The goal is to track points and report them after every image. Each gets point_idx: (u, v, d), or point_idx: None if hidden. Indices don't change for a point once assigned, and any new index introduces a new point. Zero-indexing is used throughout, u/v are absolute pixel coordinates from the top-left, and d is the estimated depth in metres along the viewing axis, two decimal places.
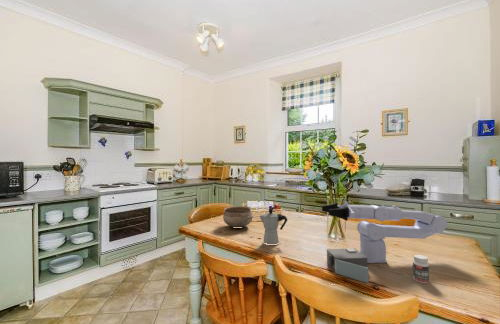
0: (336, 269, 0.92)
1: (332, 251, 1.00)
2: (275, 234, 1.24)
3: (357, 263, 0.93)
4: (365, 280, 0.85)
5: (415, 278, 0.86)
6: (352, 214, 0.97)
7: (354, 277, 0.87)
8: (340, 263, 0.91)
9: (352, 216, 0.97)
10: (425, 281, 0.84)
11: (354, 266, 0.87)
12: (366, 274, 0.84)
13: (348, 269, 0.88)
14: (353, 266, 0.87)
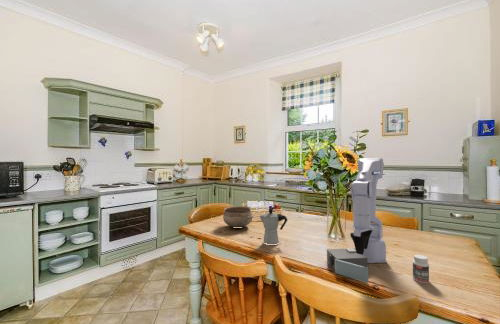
0: (336, 269, 0.92)
1: (332, 251, 1.00)
2: (275, 234, 1.24)
3: (357, 263, 0.93)
4: (365, 280, 0.85)
5: (415, 278, 0.86)
6: None
7: (354, 277, 0.87)
8: (340, 263, 0.91)
9: None
10: (425, 281, 0.84)
11: (354, 266, 0.87)
12: (366, 274, 0.84)
13: (348, 269, 0.88)
14: (353, 266, 0.87)
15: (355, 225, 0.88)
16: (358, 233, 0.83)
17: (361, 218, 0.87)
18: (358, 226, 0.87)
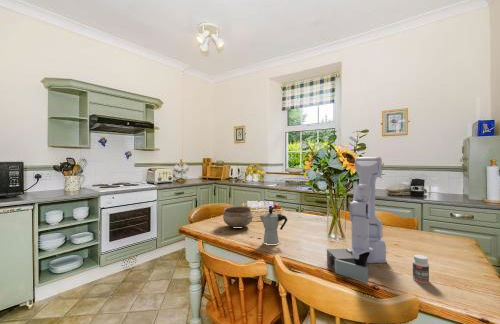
0: (336, 269, 0.92)
1: (332, 251, 1.00)
2: (275, 234, 1.24)
3: None
4: (365, 280, 0.85)
5: (415, 278, 0.86)
6: None
7: (354, 277, 0.87)
8: (340, 263, 0.91)
9: None
10: (425, 281, 0.84)
11: (354, 266, 0.87)
12: (366, 274, 0.84)
13: (348, 269, 0.88)
14: (353, 266, 0.87)
15: (353, 246, 0.87)
16: (356, 256, 0.81)
17: (360, 239, 0.85)
18: (357, 247, 0.86)
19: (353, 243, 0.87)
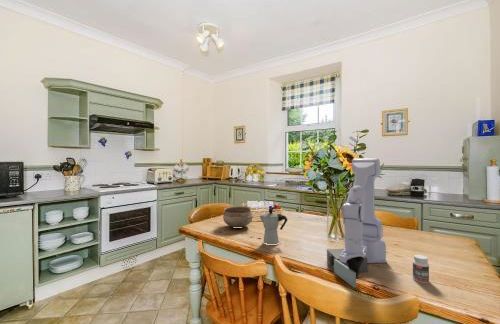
0: (335, 269, 0.92)
1: (332, 251, 1.00)
2: (275, 234, 1.24)
3: None
4: (352, 284, 0.82)
5: (415, 278, 0.86)
6: None
7: (345, 279, 0.85)
8: (337, 264, 0.90)
9: None
10: (425, 281, 0.84)
11: (345, 268, 0.85)
12: (353, 278, 0.81)
13: (342, 271, 0.87)
14: (345, 268, 0.86)
15: (345, 249, 0.84)
16: (343, 259, 0.79)
17: (351, 243, 0.82)
18: (348, 251, 0.83)
19: (345, 246, 0.84)
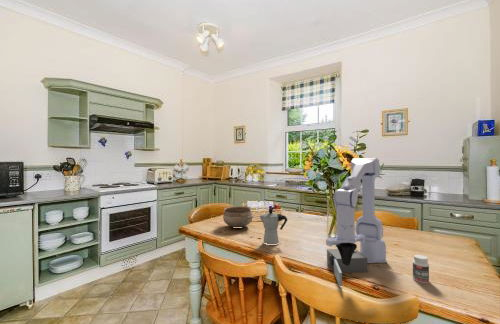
0: (334, 268, 0.92)
1: (332, 251, 1.00)
2: (275, 234, 1.24)
3: (357, 263, 0.93)
4: (339, 284, 0.82)
5: (415, 278, 0.86)
6: None
7: (337, 279, 0.86)
8: (334, 263, 0.91)
9: None
10: (425, 281, 0.84)
11: (337, 268, 0.86)
12: (339, 278, 0.82)
13: (336, 270, 0.88)
14: (336, 268, 0.86)
15: (337, 235, 0.84)
16: (328, 243, 0.81)
17: (340, 228, 0.82)
18: (338, 236, 0.83)
19: (337, 232, 0.84)
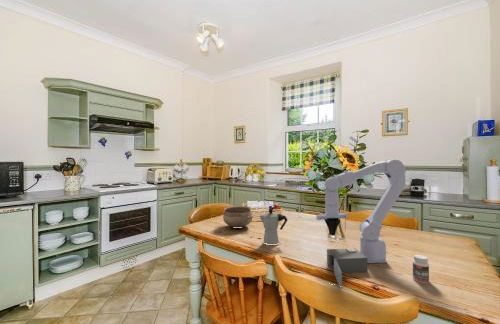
0: (334, 268, 0.92)
1: (332, 251, 1.00)
2: (275, 234, 1.24)
3: (357, 263, 0.93)
4: (339, 284, 0.82)
5: (415, 278, 0.86)
6: None
7: (337, 279, 0.86)
8: (334, 263, 0.91)
9: None
10: (425, 281, 0.84)
11: (337, 268, 0.86)
12: (339, 278, 0.82)
13: (336, 270, 0.88)
14: (336, 268, 0.86)
15: (325, 212, 1.10)
16: (318, 217, 1.06)
17: (327, 207, 1.08)
18: (326, 213, 1.09)
19: None
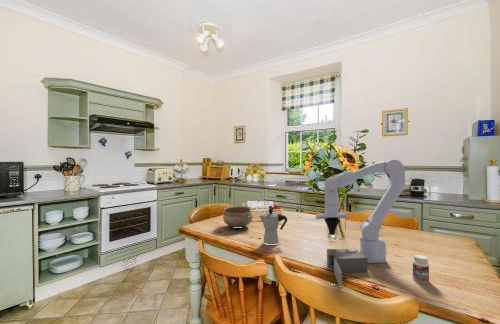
0: (334, 268, 0.92)
1: (332, 251, 1.00)
2: (275, 234, 1.24)
3: (357, 263, 0.93)
4: (339, 284, 0.82)
5: (415, 278, 0.86)
6: None
7: (337, 279, 0.86)
8: (334, 263, 0.91)
9: None
10: (425, 281, 0.84)
11: (337, 268, 0.86)
12: (339, 278, 0.82)
13: (336, 270, 0.88)
14: (336, 268, 0.86)
15: (325, 212, 1.11)
16: (317, 216, 1.08)
17: (326, 206, 1.09)
18: (325, 213, 1.10)
19: None
